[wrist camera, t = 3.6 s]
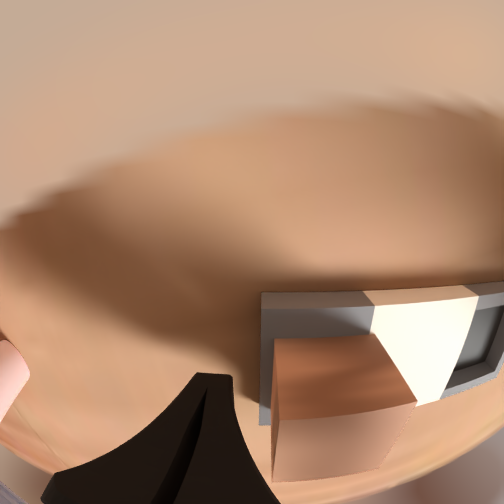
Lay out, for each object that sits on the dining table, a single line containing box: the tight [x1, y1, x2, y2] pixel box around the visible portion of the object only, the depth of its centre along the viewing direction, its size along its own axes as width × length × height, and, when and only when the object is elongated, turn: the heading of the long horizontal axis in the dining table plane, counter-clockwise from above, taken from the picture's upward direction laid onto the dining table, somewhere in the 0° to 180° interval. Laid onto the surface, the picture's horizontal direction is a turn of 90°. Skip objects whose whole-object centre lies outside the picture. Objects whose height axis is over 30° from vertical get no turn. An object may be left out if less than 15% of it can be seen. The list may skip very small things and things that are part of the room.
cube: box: [271, 334, 418, 482], centre depth 8 cm, size 4×4×4 cm
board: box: [259, 281, 504, 425], centre depth 11 cm, size 16×6×2 cm, turn 90°
